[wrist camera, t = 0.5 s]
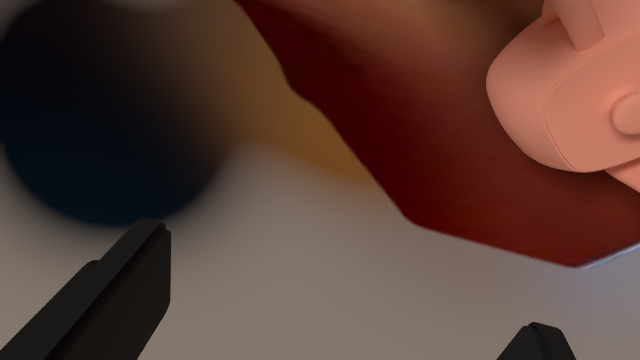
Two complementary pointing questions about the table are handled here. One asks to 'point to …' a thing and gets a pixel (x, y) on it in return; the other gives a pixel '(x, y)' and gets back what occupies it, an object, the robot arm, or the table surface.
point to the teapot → (574, 87)
